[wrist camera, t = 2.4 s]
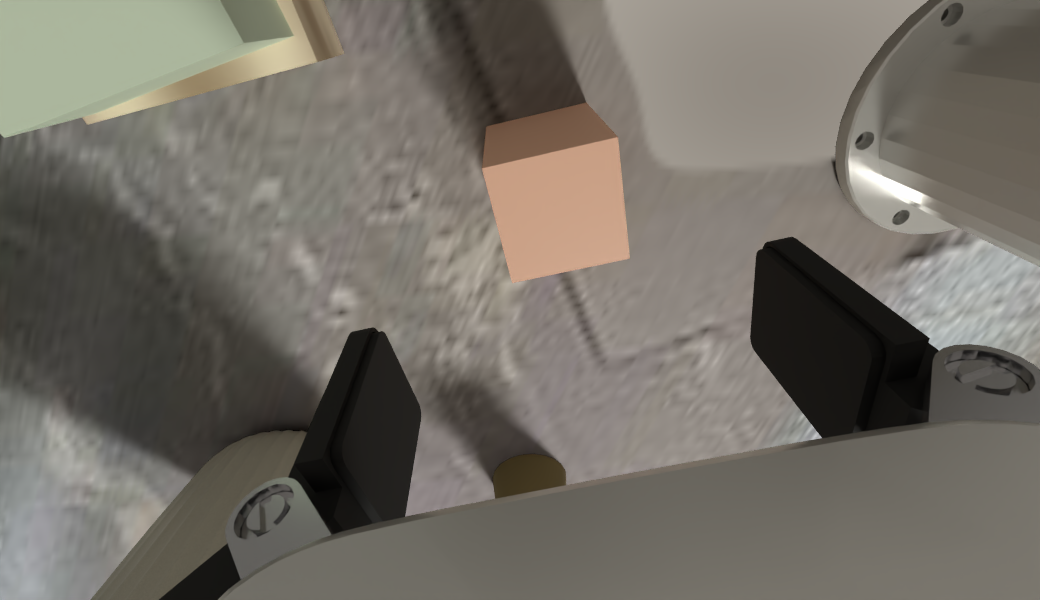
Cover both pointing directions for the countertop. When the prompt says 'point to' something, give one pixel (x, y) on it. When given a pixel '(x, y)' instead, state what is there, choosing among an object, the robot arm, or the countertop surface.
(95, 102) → the top block
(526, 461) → the cork
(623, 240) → the terracotta block
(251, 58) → the bottom block
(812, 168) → the countertop surface
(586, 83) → the countertop surface
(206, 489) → the canister
